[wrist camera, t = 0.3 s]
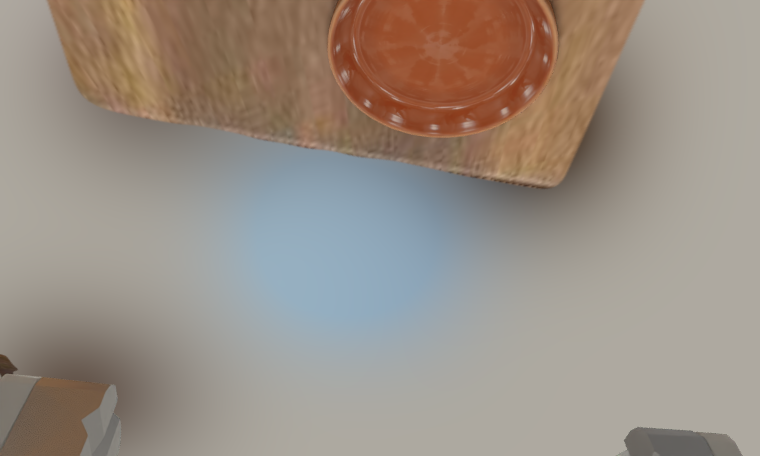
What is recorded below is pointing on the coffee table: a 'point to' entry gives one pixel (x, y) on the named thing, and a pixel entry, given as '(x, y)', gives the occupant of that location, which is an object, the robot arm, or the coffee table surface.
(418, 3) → the saucer
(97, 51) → the coffee table surface
